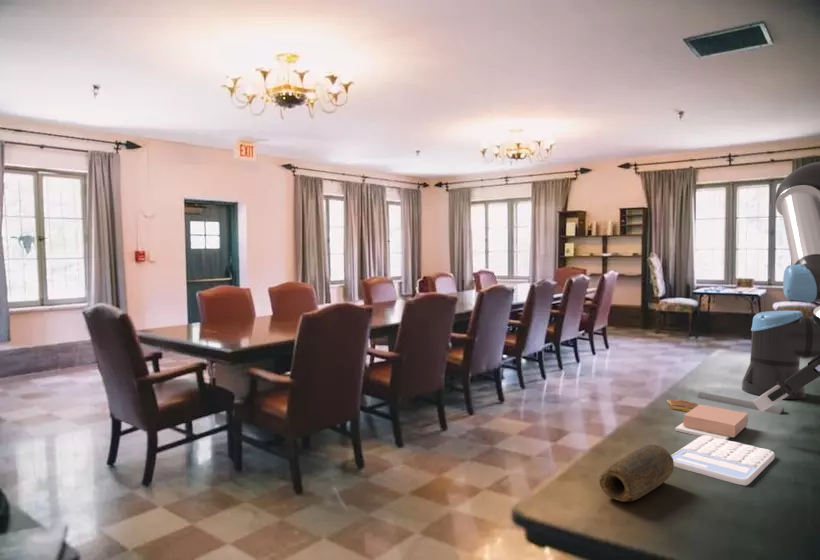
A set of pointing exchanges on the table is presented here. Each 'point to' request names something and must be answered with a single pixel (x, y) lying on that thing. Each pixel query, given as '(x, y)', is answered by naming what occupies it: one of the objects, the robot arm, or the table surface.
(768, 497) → the table surface
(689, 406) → the shard
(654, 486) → the stone weight
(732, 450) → the calculator
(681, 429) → the white rectangular slab
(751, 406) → the gray half cylinder
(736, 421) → the terracotta tile
